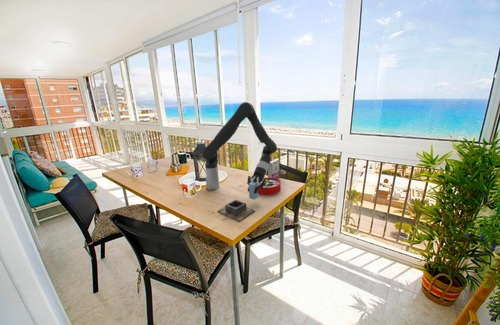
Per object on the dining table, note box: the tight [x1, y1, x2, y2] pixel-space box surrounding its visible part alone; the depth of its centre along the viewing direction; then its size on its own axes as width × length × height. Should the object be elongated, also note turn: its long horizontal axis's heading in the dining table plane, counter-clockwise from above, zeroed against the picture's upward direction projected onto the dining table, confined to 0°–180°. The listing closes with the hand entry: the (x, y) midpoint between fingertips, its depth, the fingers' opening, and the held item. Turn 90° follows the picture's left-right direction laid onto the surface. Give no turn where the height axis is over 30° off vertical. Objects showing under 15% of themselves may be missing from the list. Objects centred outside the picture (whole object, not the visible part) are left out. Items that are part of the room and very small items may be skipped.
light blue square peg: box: [248, 182, 259, 201], centre depth 126 cm, size 4×4×10 cm
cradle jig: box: [217, 199, 256, 223], centre depth 118 cm, size 18×14×5 cm
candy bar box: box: [267, 158, 280, 179], centre depth 166 cm, size 11×5×16 cm, turn 139°
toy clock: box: [258, 177, 282, 196], centre depth 148 cm, size 20×6×20 cm
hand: (251, 192), depth 125 cm, fingers closed on light blue square peg, 4 cm apart
